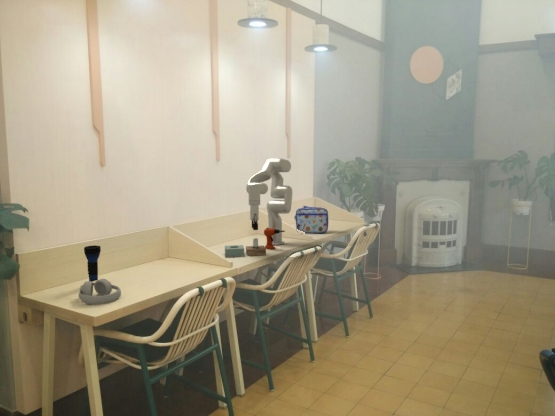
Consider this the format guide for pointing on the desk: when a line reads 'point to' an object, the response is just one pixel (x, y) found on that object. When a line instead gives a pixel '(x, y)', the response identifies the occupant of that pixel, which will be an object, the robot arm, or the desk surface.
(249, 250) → the socket block
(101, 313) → the desk surface
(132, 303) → the desk surface
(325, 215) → the lunch box
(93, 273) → the flashlight
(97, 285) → the headphones
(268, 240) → the toy drill
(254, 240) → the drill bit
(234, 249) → the rack holder
